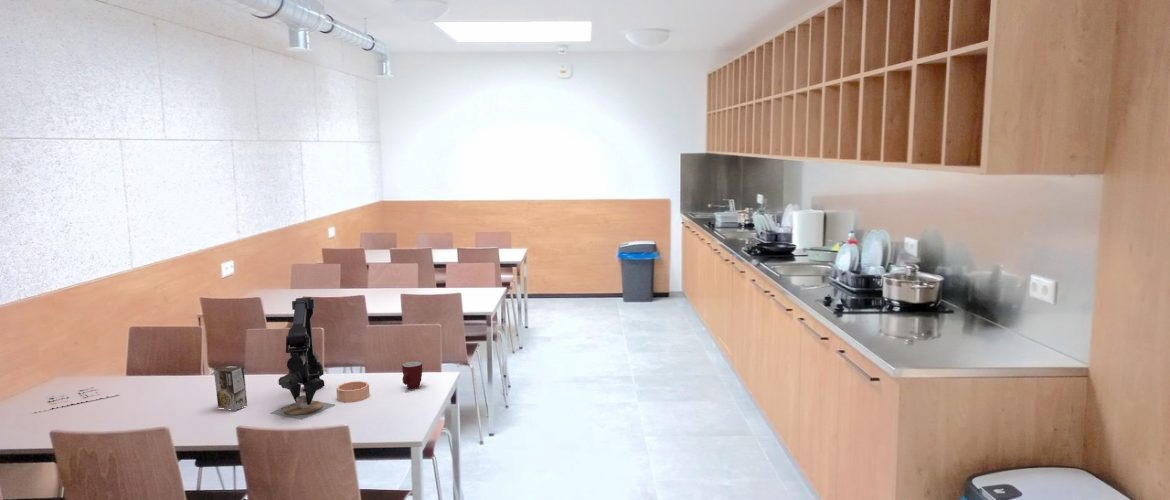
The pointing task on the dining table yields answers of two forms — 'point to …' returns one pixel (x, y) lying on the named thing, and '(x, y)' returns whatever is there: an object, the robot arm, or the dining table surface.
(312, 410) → the lid
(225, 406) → the coffee box
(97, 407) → the dining table surface
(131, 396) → the dining table surface
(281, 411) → the mat
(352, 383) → the bowl
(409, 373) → the mug
